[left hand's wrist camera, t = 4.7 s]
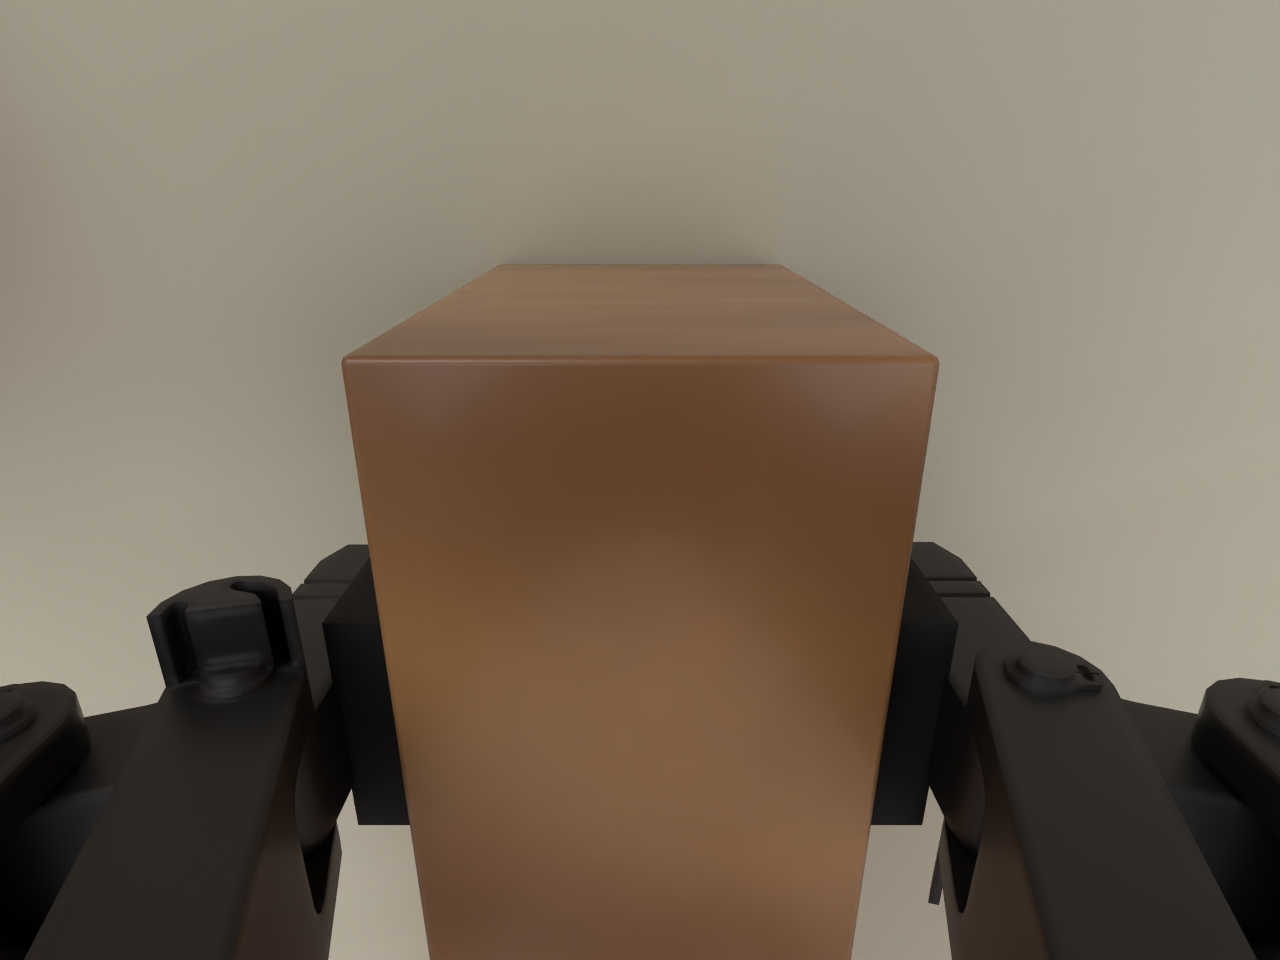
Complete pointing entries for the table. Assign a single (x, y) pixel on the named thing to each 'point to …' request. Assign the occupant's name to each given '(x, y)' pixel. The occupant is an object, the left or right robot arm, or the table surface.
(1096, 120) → the table surface
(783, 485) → the beam
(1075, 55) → the table surface
